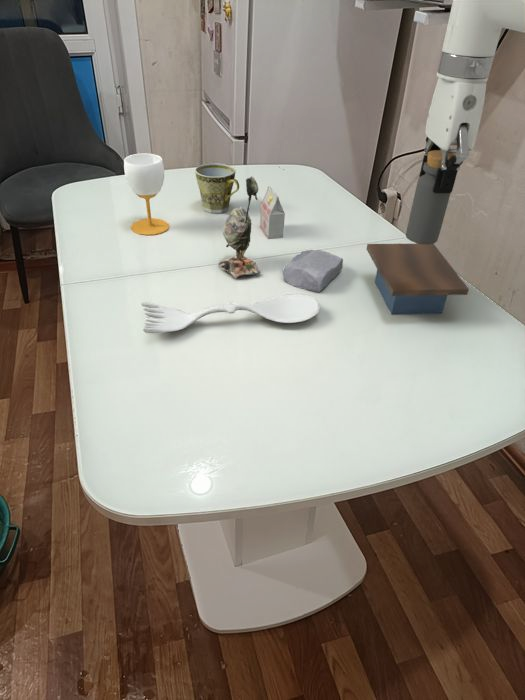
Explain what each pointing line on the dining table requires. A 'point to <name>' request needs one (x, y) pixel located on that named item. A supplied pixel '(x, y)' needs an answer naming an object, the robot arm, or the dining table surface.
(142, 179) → the cup
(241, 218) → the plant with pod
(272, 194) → the milk carton
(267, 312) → the spoon
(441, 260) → the board
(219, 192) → the ceramic cup
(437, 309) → the box
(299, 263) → the stone block
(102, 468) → the dining table surface
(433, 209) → the bottle
